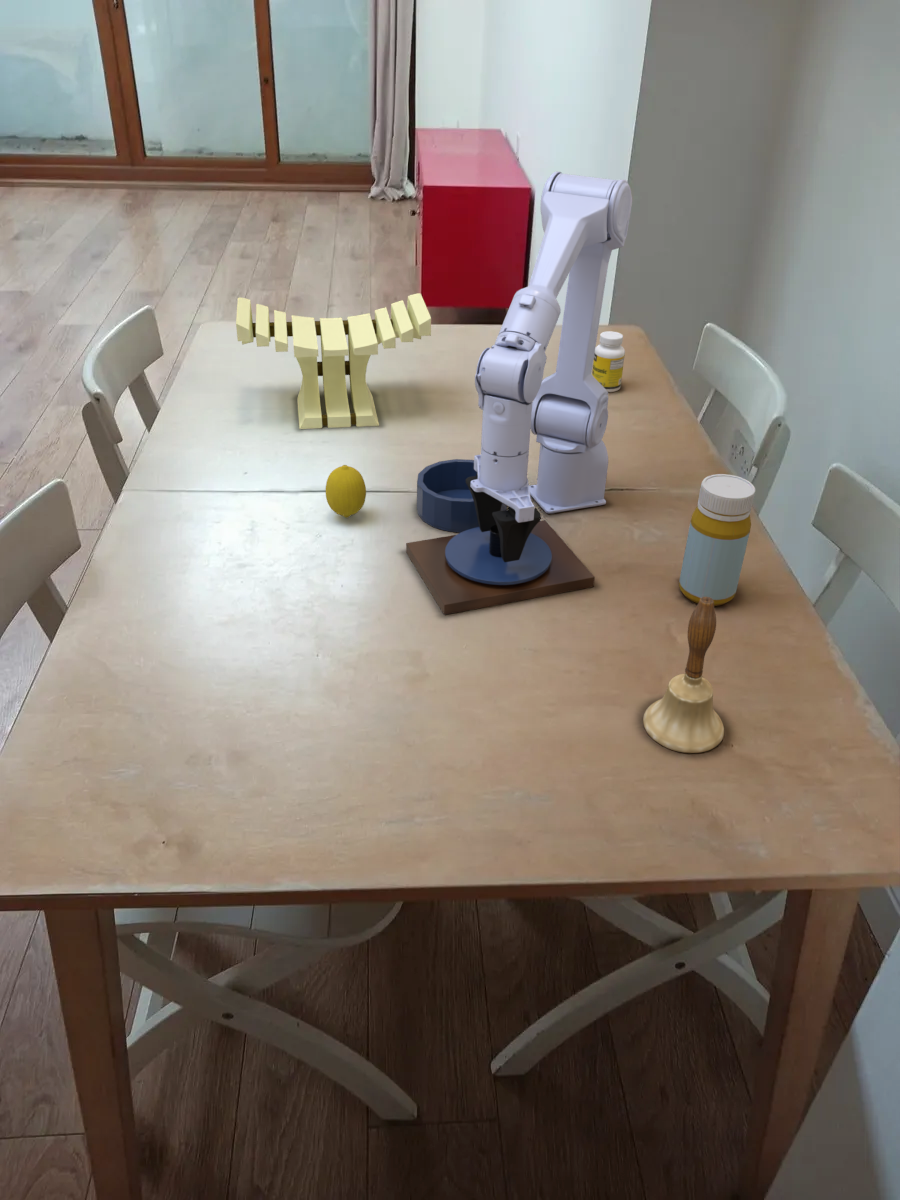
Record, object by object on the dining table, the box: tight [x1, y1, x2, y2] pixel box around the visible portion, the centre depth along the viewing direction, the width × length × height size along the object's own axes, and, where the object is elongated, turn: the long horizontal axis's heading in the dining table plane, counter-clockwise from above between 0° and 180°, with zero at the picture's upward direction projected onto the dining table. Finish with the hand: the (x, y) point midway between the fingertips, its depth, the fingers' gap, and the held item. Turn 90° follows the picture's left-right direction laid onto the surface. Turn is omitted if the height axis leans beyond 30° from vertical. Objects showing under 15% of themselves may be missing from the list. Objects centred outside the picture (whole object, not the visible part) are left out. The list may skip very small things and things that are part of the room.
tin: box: [416, 458, 508, 534], centre depth 137 cm, size 13×13×5 cm
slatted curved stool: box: [235, 292, 432, 430], centre depth 161 cm, size 30×16×18 cm, turn 99°
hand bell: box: [642, 597, 725, 754], centre depth 97 cm, size 8×8×16 cm
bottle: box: [678, 473, 756, 607], centre depth 118 cm, size 7×7×15 cm
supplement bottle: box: [592, 330, 626, 393], centre depth 174 cm, size 5×5×10 cm
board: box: [405, 519, 596, 616], centre depth 125 cm, size 20×15×2 cm
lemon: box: [325, 464, 367, 519], centre depth 133 cm, size 6×6×8 cm
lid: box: [445, 525, 552, 585], centre depth 123 cm, size 14×14×4 cm
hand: (499, 544), depth 123 cm, fingers open, 7 cm apart
